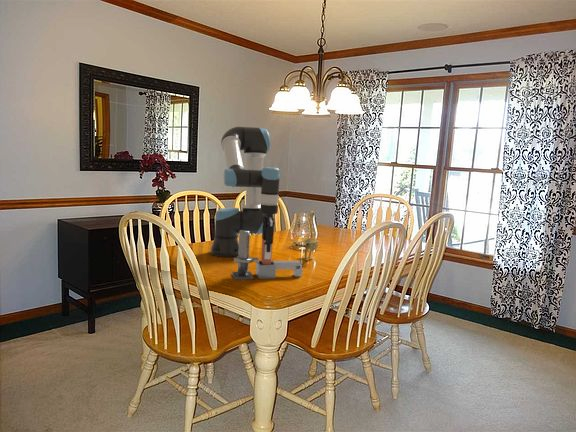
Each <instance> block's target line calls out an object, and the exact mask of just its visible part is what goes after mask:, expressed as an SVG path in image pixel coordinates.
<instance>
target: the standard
mask: <svg viewBox="0 0 576 432" xmlns="http://www.w3.org/2000/svg"><path fill="white" fill-rule="evenodd" d="M250 238H251V234H250V231H248V230H240V231H239V234H238V243H239V253H238V256H234V257H233V262H234V263H237V271H232V273H231V274H232V277H233V279H234V281H235V280H254V275H253V273H252V271H249V264H251V263H253V262H255V263H256V262H259V261H260V260H259V258H258V257H251V256H250V254H249V253H250Z"/></svg>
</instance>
